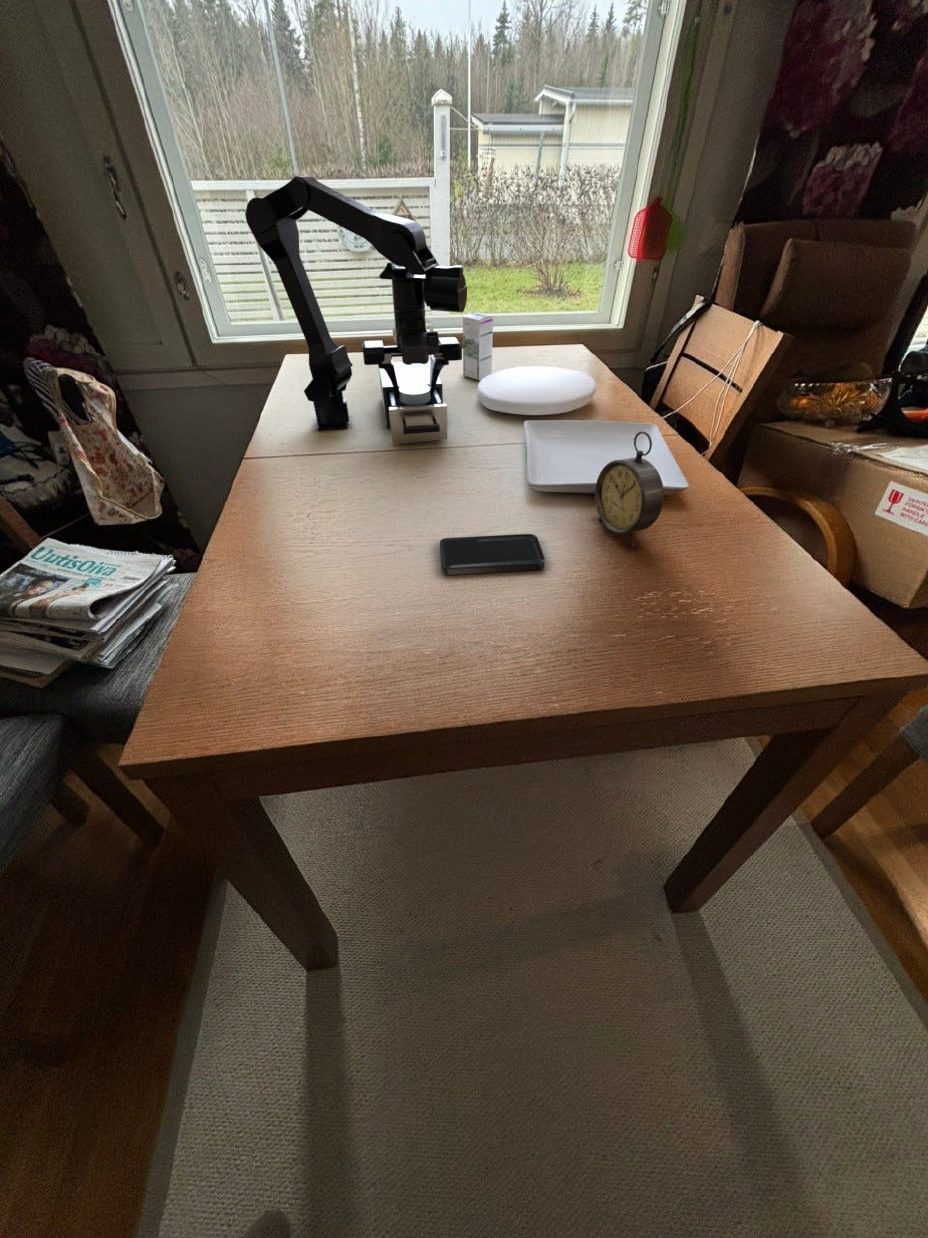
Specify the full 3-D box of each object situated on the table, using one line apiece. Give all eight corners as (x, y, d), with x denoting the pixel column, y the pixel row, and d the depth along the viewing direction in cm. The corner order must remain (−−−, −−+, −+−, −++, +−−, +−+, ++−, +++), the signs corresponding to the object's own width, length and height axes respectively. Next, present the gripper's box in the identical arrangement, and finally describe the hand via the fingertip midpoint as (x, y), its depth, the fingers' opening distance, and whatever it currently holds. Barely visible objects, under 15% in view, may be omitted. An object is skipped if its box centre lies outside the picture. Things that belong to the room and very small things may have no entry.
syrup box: (492, 375, 136) (494, 314, 126) (478, 381, 132) (479, 318, 123) (476, 371, 138) (477, 310, 129) (462, 376, 135) (461, 315, 125)
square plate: (521, 436, 107) (523, 417, 105) (651, 439, 106) (656, 421, 103) (526, 500, 87) (528, 480, 85) (685, 505, 86) (692, 485, 84)
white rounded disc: (471, 399, 110) (480, 362, 129) (474, 428, 114) (482, 389, 134) (603, 389, 106) (592, 353, 125) (600, 420, 110) (590, 380, 130)
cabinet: (443, 424, 112) (442, 383, 106) (386, 428, 110) (382, 387, 104) (433, 397, 124) (432, 359, 118) (382, 400, 122) (378, 362, 116)
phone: (546, 563, 72) (442, 568, 71) (545, 569, 73) (442, 575, 72) (535, 532, 78) (439, 537, 77) (535, 539, 79) (439, 543, 78)
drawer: (451, 449, 100) (450, 415, 96) (394, 453, 99) (390, 419, 94) (437, 411, 115) (436, 379, 110) (387, 414, 114) (384, 382, 109)
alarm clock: (587, 518, 83) (606, 421, 72) (613, 511, 85) (636, 415, 74) (628, 554, 76) (657, 451, 65) (657, 545, 78) (689, 444, 67)
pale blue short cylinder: (401, 408, 100) (400, 395, 99) (398, 397, 105) (397, 384, 103) (432, 406, 101) (432, 393, 99) (428, 395, 106) (428, 382, 104)
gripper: (358, 321, 85) (370, 414, 95) (467, 317, 87) (466, 408, 98) (357, 306, 93) (368, 394, 103) (456, 303, 95) (457, 388, 106)
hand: (414, 396), depth 102 cm, fingers closed on pale blue short cylinder, 6 cm apart
